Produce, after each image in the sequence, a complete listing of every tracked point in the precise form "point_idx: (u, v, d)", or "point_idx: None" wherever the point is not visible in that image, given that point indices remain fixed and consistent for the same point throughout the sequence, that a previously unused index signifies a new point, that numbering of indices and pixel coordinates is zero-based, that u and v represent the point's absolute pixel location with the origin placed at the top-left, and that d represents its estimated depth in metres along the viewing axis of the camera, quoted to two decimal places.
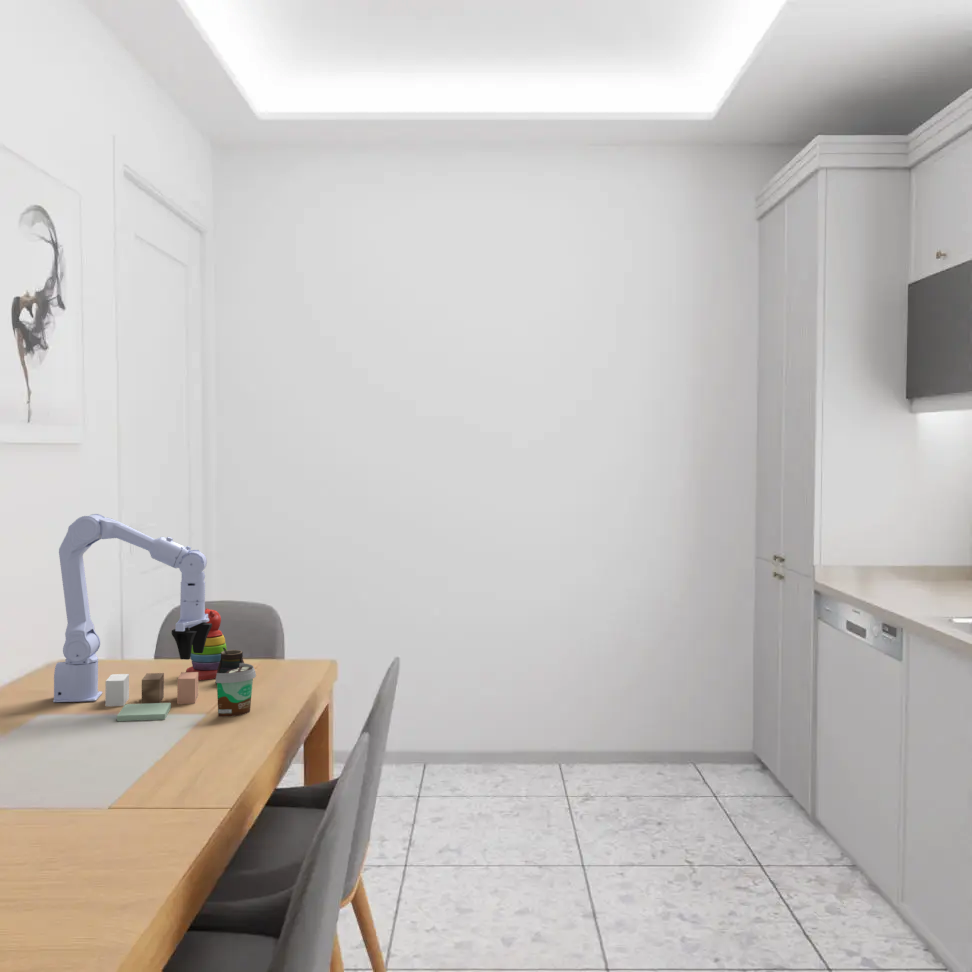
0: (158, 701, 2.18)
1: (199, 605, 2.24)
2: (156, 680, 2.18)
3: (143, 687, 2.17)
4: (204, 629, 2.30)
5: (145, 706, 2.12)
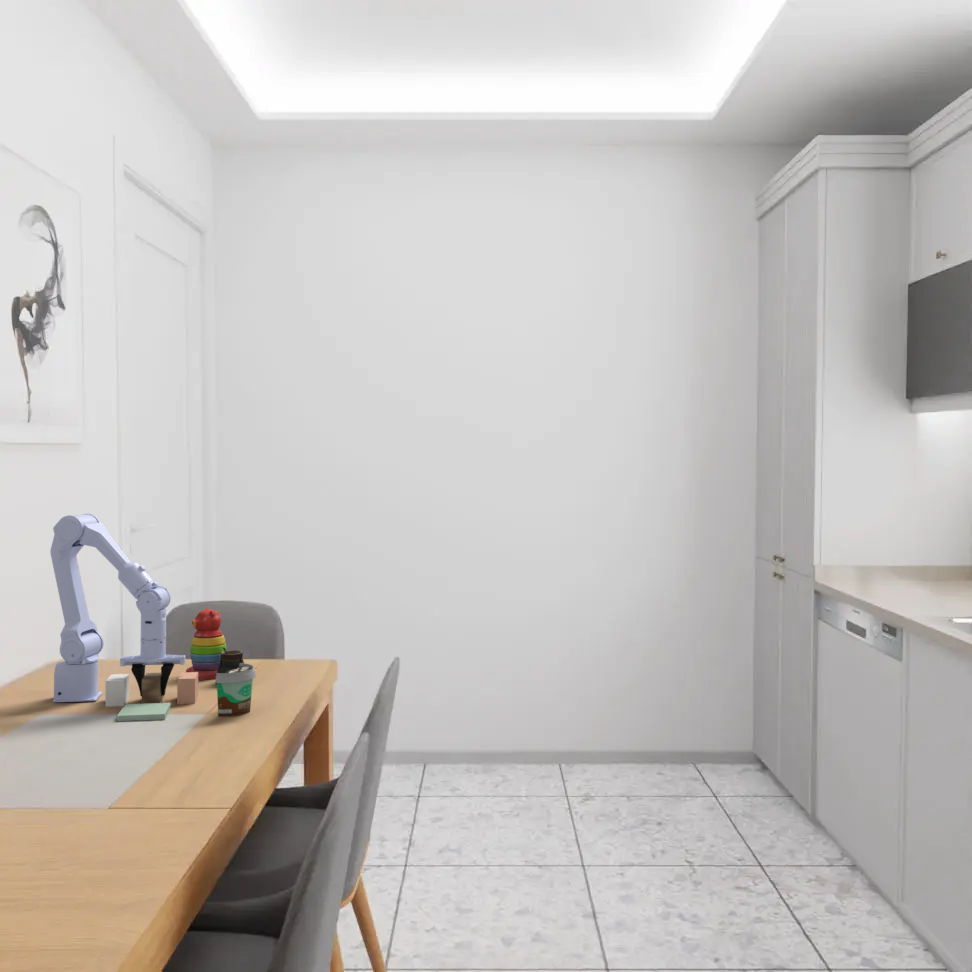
0: (158, 701, 2.18)
1: (144, 643, 2.18)
2: (156, 680, 2.18)
3: (143, 687, 2.17)
4: None
5: (145, 706, 2.12)
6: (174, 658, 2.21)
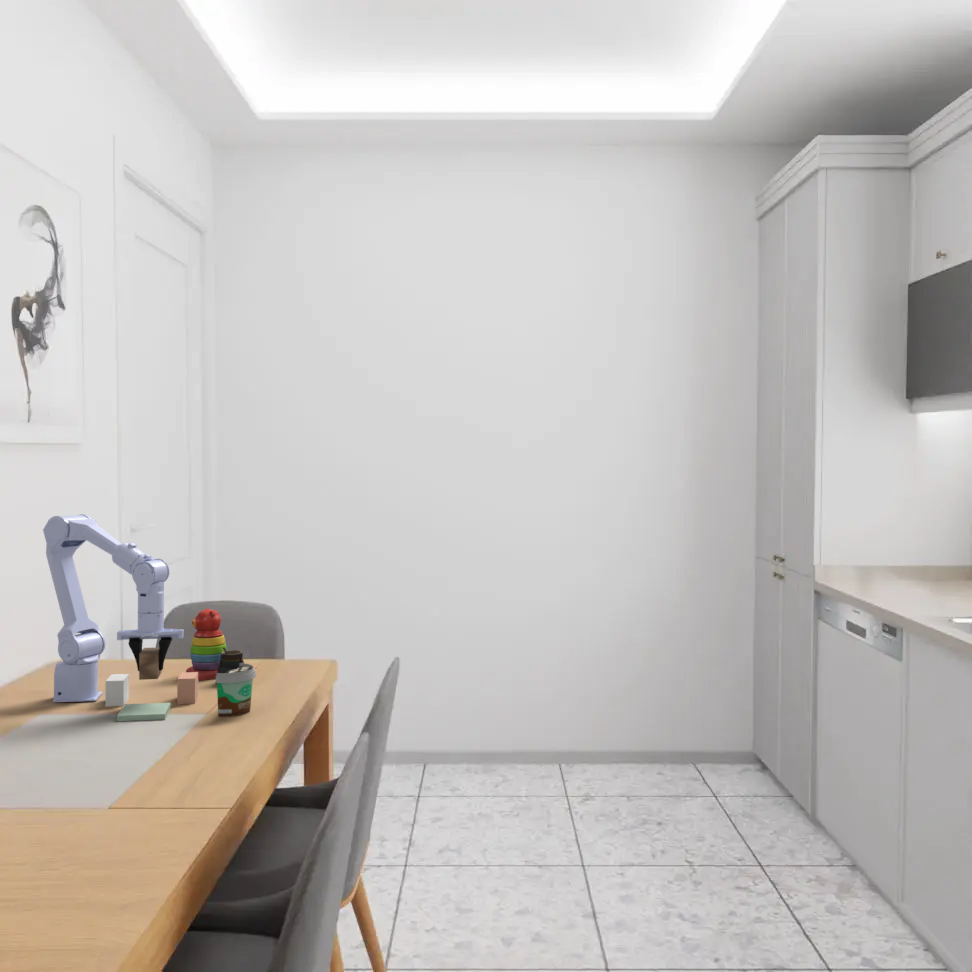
0: (156, 675, 2.13)
1: (141, 617, 2.14)
2: (154, 654, 2.13)
3: (141, 661, 2.13)
4: None
5: (145, 706, 2.12)
6: (172, 632, 2.16)
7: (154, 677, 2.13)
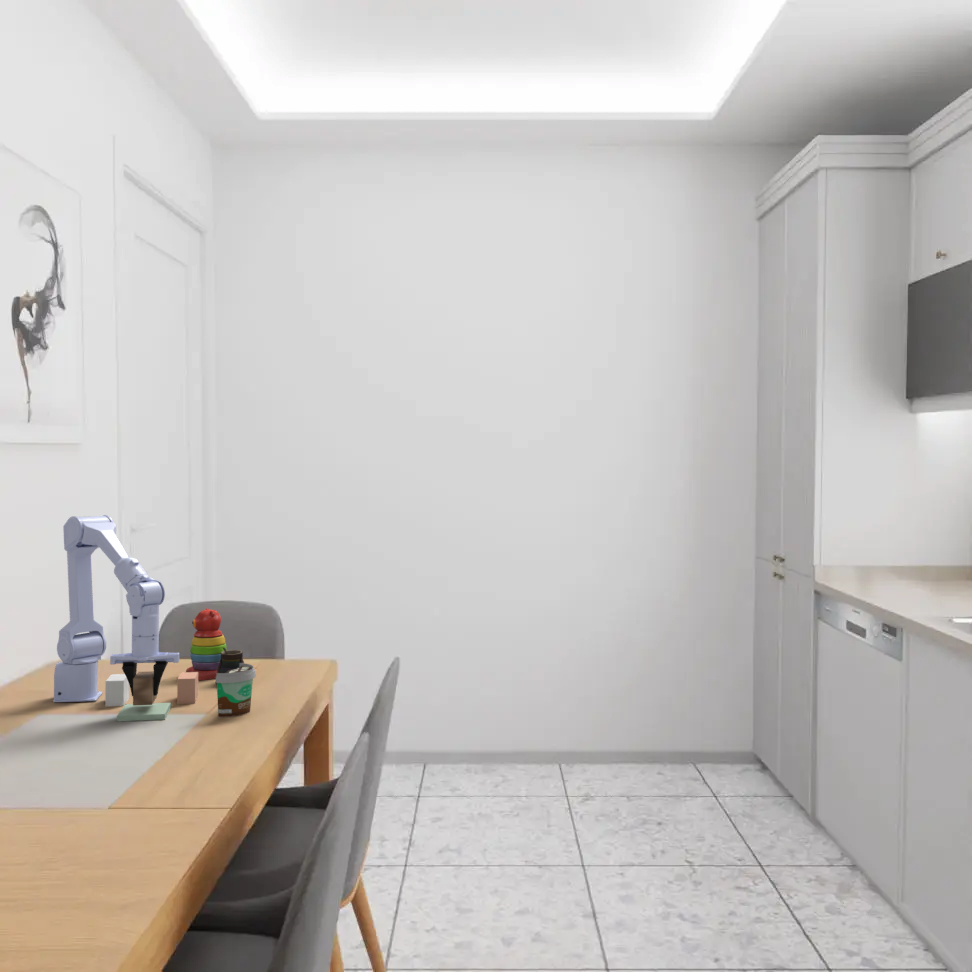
0: (150, 701, 2.06)
1: (135, 640, 2.06)
2: (148, 679, 2.06)
3: (135, 686, 2.06)
4: (154, 669, 2.08)
5: (145, 706, 2.12)
6: (167, 656, 2.09)
7: (148, 703, 2.06)
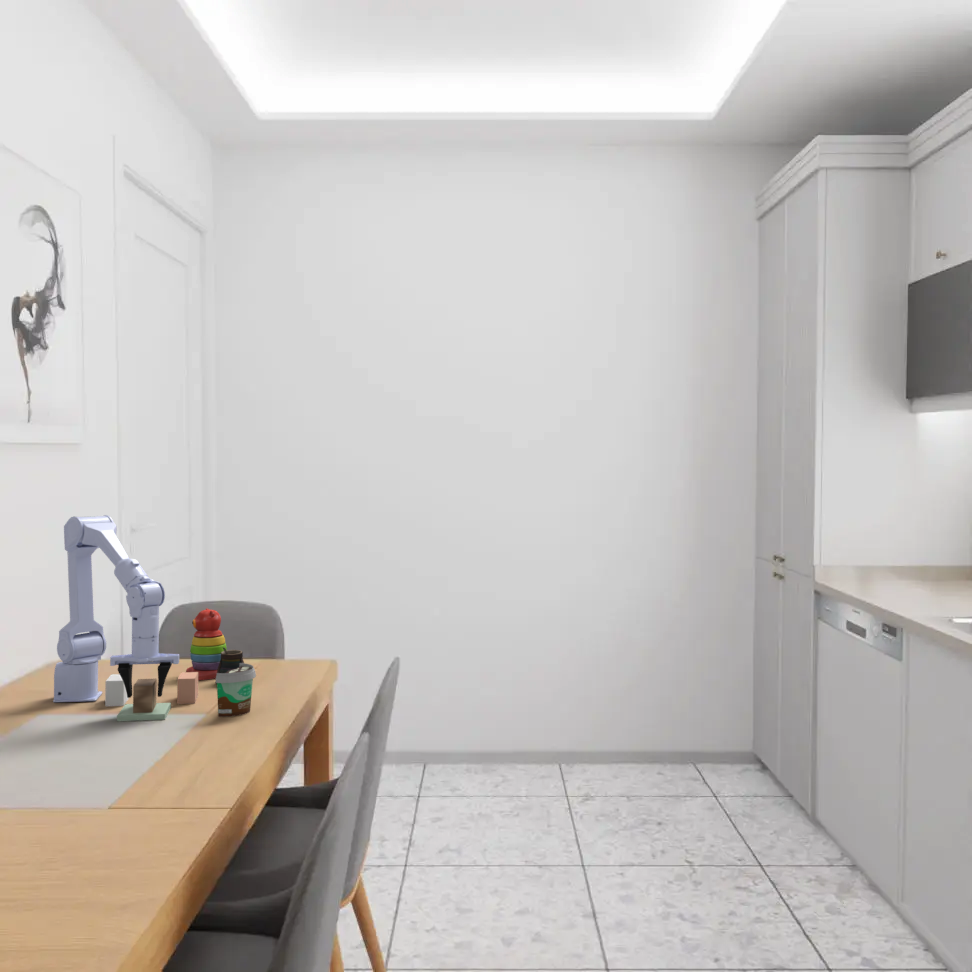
0: (151, 708, 2.06)
1: (135, 641, 2.06)
2: (148, 686, 2.06)
3: (135, 694, 2.06)
4: (158, 671, 2.08)
5: None
6: (167, 657, 2.09)
7: (148, 710, 2.06)
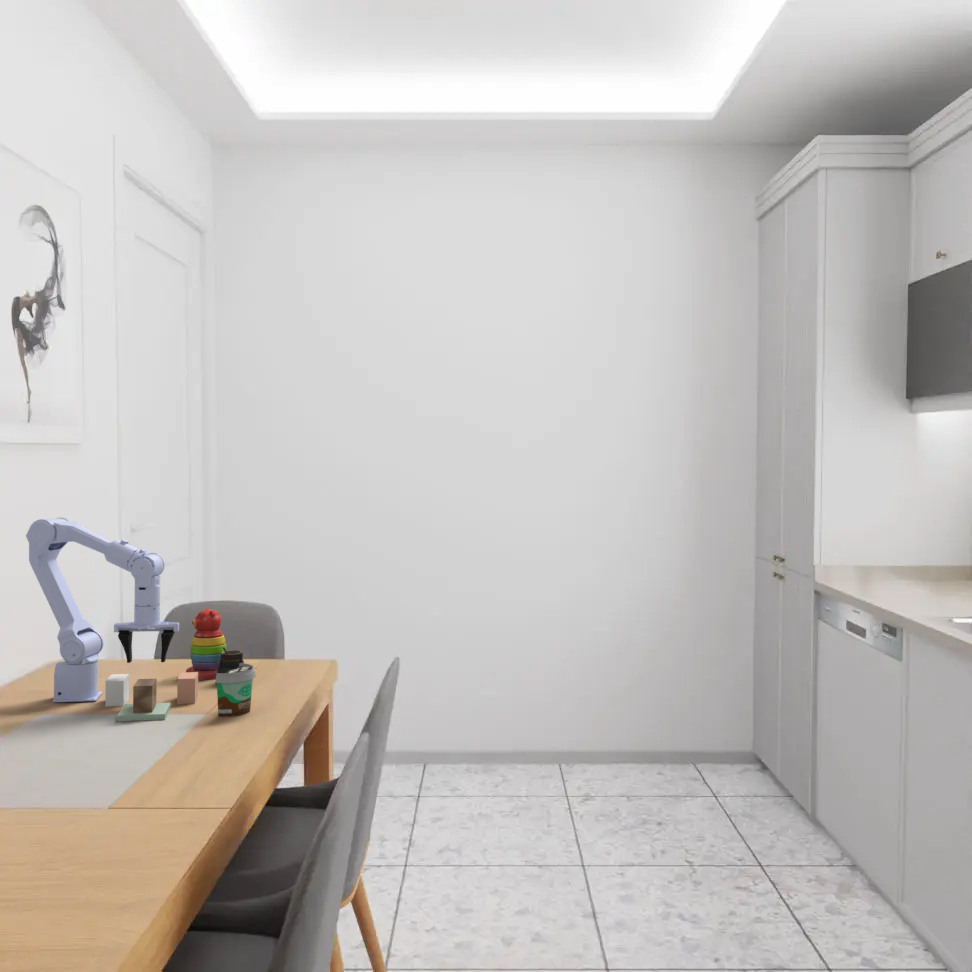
0: (151, 708, 2.06)
1: (138, 609, 2.18)
2: (148, 686, 2.06)
3: (135, 694, 2.06)
4: None
5: None
6: (168, 625, 2.20)
7: (148, 710, 2.06)
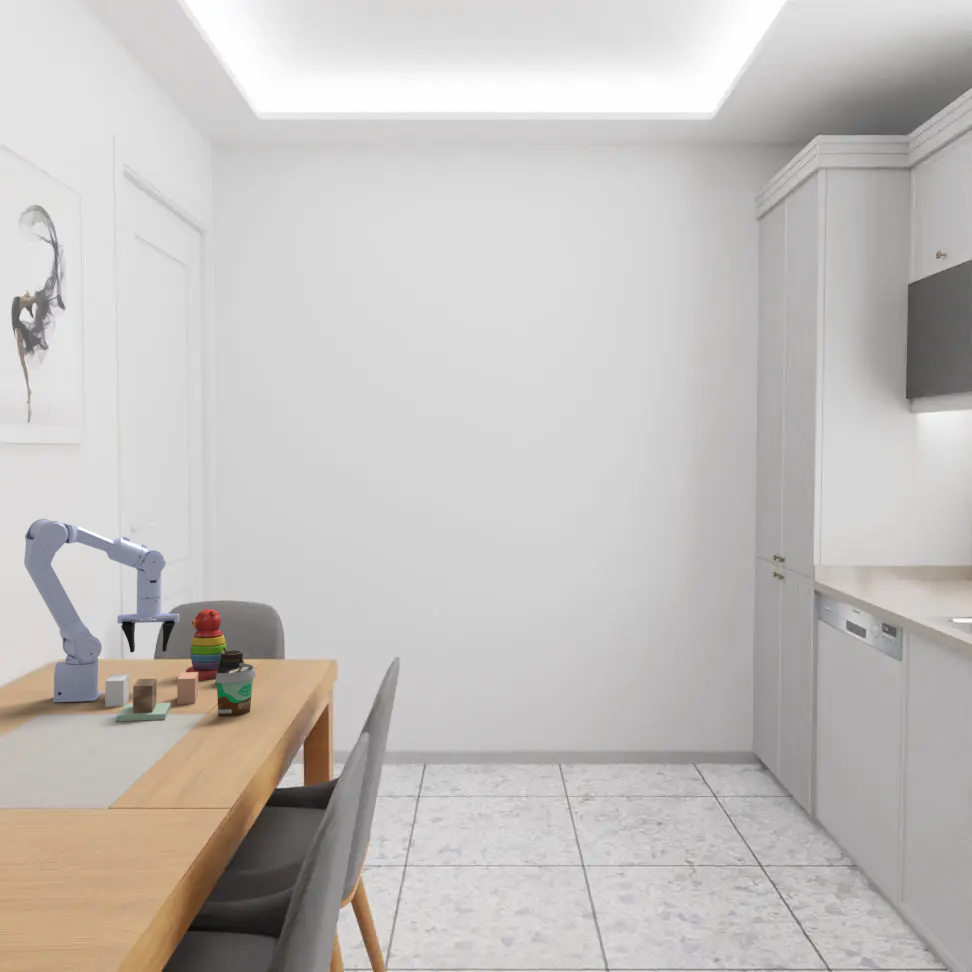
0: (151, 708, 2.06)
1: (140, 602, 2.30)
2: (148, 686, 2.06)
3: (135, 694, 2.06)
4: (163, 628, 2.32)
5: None
6: (169, 616, 2.32)
7: (148, 710, 2.06)
